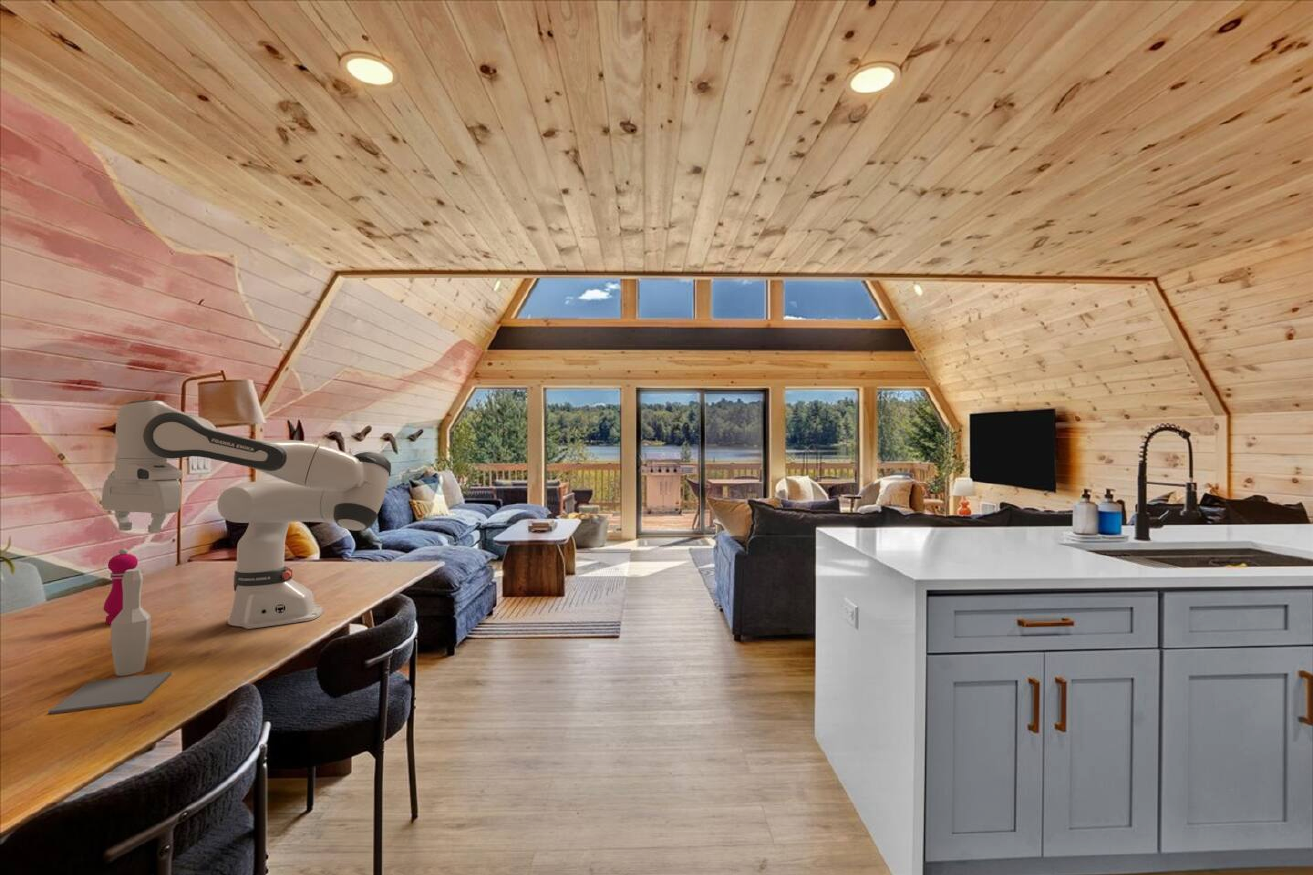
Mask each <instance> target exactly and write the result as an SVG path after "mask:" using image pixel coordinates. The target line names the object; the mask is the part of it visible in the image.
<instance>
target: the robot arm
mask: <svg viewBox="0 0 1313 875" xmlns="http://www.w3.org/2000/svg"><path fill="white" fill-rule="evenodd" d="M114 436H115V441H116V446H117V450H116V452H115V454H114V469H113V470H112V471H111V473H109V474H108V476H107V479H106V480H105V481H104V483H103V488H102V493H101V494H102V495H101V508H102V509H103V510H104V511H113V512H114V517H115V519H116V521H117V523H118V530H119V531H121V532H122V531H123V532H127V531H131V530H132V529H133V527H132V526H133V523H132V521H131V522H130V518H129V515H131V514H130V512H132V513H147V514H150V517H151V518H152V520H151V523H150V524H148V525H147V532H148V533H151V534H159V533H161V532H162V525H163V523H164V521H165V519H166V517H167V514H172V513H177V512H178V511H179V510H180V508H181V506H182V505H181V504H182V483H181V481H180V480H181V479H182V478H183V470H182V469H180V468H178V467H176V466H174V465H173V464H172V463H171V464H170V463H169V462H168V459H169V460H170V459H181V458H182V459H183V458H188V457H189V458H191V457H198V458H205V459H211V460H214V461H215V460H216V461H219V462H225V463H229V464H235V465H239V466H243V467H247V468H251V469H254V470H256V471H259V472H262V473H264V474H266V475H269V476H272V477H274V478H277V479H269V480H260V481H259V480H258V481H249V482H242V483H239V484H236V485H233V486H230V487H228V488H226V489H224V490H223V491H222V493H220V495H219V497H218V499H217V510H218V512H219V515H220V516H221V517H222V518H223V519H224V520H226V521H227V522H231V523H240V524H241V523H244V524H248V525H247V528H246V531H245V532H244V533H243V535H242V536H241V537H240V539H239V540H238V542H237V545H236V546H237V547H236V570H235V571H234V575H233V590H234V597H233V602H232V603H233V604H232V608H231V612H230V615H229V618H228V620H227V624H228V625H230V626H234V627H243V628H244V629H249V630H250V629H257V628H264V627H272V626H280V625H287V624H294V623H301V622H309V621H313V620H315V619H317V618H319V617H320V616H321V615H322V614H323V612H324V610H323V609H324V608H323V606H322V605H320V604H316V603H315V599H314V598H315V597H314V594H313V592H312V591H311V589H310V588H308V587H306V586H304V585H303V584H301V583H299V582H297V581H296V580H294V579H292V578H293V567H288V566H285V553H286V551H285V550H286V539H287V534H288V530H289V527H290V524H291V523H295V522H296V523H297V522H298V523H299V522H304V523H309V522H310V523H333V524H334V523H336V524H337V526H338V527H341V528H342V529H346V530H348V531H349V530H350V531H357V532H358V531H359V532H361V531H365V530H368V529H370V528H371V527H373V525H374V524H375V522H376V521H377V519H378V514H379V512H380V509H381V507H382V506H383V502H384V500H385V497H386V492H387V488H388V486H389V485H388V483H389V479H390V476H391V474H392V464H391V462H390V460H389V459H388V458H387V457H386V456H384V455H382V454H380V453H377V452H373V451H364V452H360V453H356V454H353V455H352V454H350V453H348V452H344V451H343V450H339V449H337V448H333V447H331V446H327V445H323V444H319V443H315V442H310V441H304V440H295V439H277V440H276V439H275V440H266V439H265V440H263V439H262V440H261V439H253V438H248V437H243V436H239V435H234V434H231V433H227V432H222V431H219V430H218V428H217V427H216V425H215V424H214V423H212V421H210V420H208V419H206V418H204V417H200V416H198V415H194V414H189V413H186V412H184V411H181V410H179V409H177V408H174V407H172V406H170V405H168V404H167V403H166V402H164V401H162V400H158V399H149V400H148V399H144V400H134V401H129V402H125V403H124V404H123V405H121V406H120V408H119V409H118V413H117V417H116V422H115V434H114Z"/></svg>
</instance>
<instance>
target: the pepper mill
mask: <svg viewBox="0 0 1313 875" xmlns="http://www.w3.org/2000/svg"><path fill="white" fill-rule="evenodd" d="M128 550H129V549H127V548H120V549H119V551H118V552H119V554H116V555H114V556H112V557H111V558H110V559H109V560H108V563H107V568H108V570H110V571H111V572H110V574H109V575H110V577H109V578H110V579H111V580H112V581H111V582H112V585H111V586H112V587H111V589H110V592H109V594H108V596H107V598H106V599H105V602H104V604H103V611H104V612H105V613H106V614H107V616H106V617H105V624H106V625H110V626H111V622H112V621H113V620H114V619H115V617H116V616H117V615H118V614H119V613H120V612H121V610H122V609H123V588H122V579H123V576H124V574H125V571H126V570H130V569H136V568H137V567H138V562H139V561H138V558H137V556H136V555H134V554H132V553H128V552H129V551H128Z"/></svg>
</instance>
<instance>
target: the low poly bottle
mask: <svg viewBox="0 0 1313 875" xmlns="http://www.w3.org/2000/svg"><path fill="white" fill-rule="evenodd" d="M143 582H144V577H143V573H142V571H141V568H134V569H130V570H126V571H125V574H124V576H123V579H122V588H123V609H122V610H121V612H120V613H119V614H118V615H117V616H116V617H115V619H114V620H113V621H112V622H111V625H110V646H111V653H112V660H113V668H114V669H113V670H114V674H115V675H116V676H118V677H121V676H122V677H124V676H129V675H130V676H131V675H134V674H138V673H141V672H143V671H144V670H145V668H146V662H147V658H148V656H147V655H148V650H149V646H150V640H151V634H152V633H151V632H152V628H151V627H152V625H151V624H152V616H151V615H150V614H149V613H148V612H147V611H146V610H145V609H144V608H143V607H142V591H143Z"/></svg>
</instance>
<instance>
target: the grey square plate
mask: <svg viewBox="0 0 1313 875" xmlns="http://www.w3.org/2000/svg"><path fill="white" fill-rule="evenodd" d="M171 675H172V671H168V672H161V673H152V674H151V673H150V674H141V675H134V676H133V675H132V676H122V677H115V678H106V679H99V680H89V681H87V682H86V683H85V684H84V685H81V687H80V688H78V689H77V690H75V691H74V692H73V693H71V694H70V695H68V696H67V697H66V698H64V699H63V700H62V701H60V702H59V703H58V704H56V705H55V706H54V707H52V708H51V709H50V710H48V715H51V714H61V713H67V712H75V711H83V710H91V709H92V710H93V709H99V708H106V707H107V708H108V707H116V706H124V705H131V704H138V703H139V704H140V703H143V702H144V701H145V700H146V699H147V698H148V697H150V695H151V694H153V692H155V691H156V690H157V689H158V688H159V687H160V686H161V685H162V684H163V683H164V682H165V681H166V680H167V679H168V678H169V677H170V676H171Z"/></svg>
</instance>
